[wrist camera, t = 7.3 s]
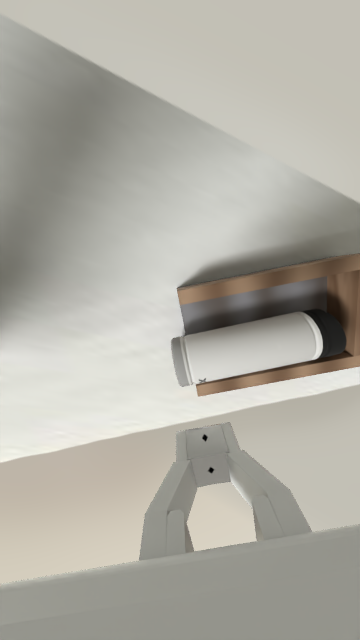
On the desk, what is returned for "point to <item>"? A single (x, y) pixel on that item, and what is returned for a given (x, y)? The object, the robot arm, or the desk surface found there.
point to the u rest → (279, 311)
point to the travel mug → (256, 346)
